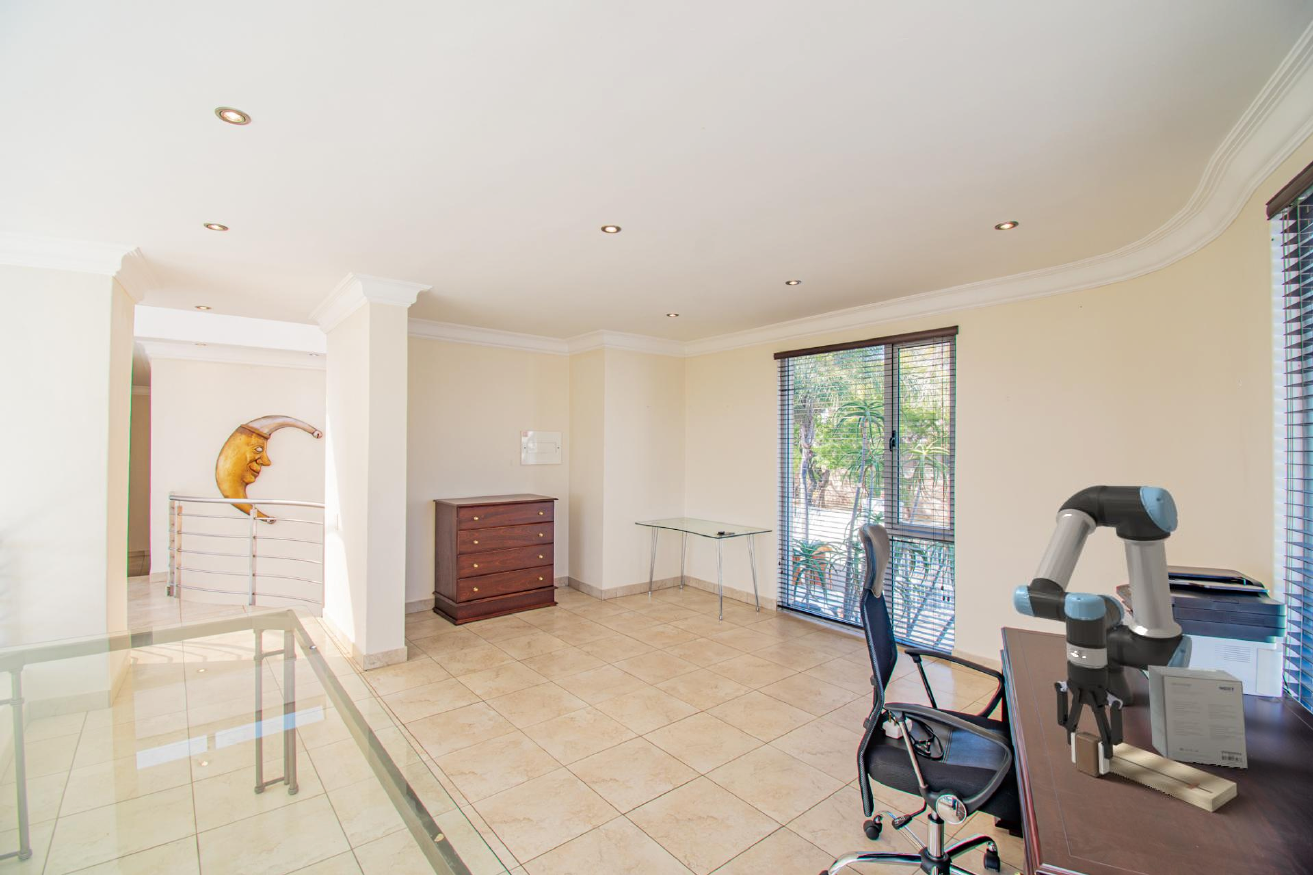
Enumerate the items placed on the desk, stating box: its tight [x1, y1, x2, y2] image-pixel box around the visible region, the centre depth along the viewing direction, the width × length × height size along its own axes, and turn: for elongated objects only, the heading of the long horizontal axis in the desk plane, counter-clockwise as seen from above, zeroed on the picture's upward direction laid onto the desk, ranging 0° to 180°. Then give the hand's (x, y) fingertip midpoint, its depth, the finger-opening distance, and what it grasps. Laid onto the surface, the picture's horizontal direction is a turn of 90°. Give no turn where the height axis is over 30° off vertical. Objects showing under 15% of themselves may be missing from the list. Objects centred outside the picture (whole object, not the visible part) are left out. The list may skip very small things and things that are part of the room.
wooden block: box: [1076, 731, 1102, 778], centre depth 136 cm, size 4×4×8 cm
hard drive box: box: [1147, 665, 1248, 769], centre depth 142 cm, size 16×8×20 cm, turn 71°
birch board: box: [1109, 742, 1238, 813], centre depth 133 cm, size 24×12×3 cm, turn 28°
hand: (1090, 766), depth 135 cm, fingers open, 5 cm apart
